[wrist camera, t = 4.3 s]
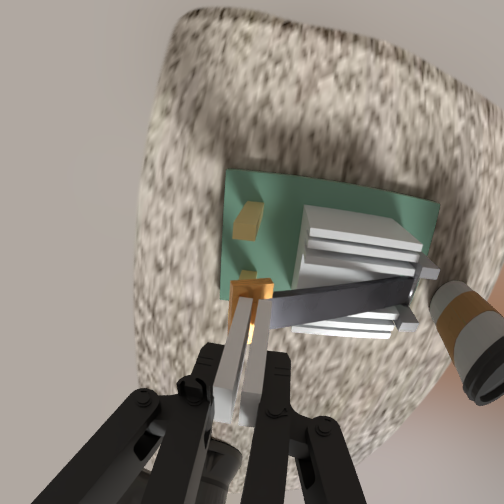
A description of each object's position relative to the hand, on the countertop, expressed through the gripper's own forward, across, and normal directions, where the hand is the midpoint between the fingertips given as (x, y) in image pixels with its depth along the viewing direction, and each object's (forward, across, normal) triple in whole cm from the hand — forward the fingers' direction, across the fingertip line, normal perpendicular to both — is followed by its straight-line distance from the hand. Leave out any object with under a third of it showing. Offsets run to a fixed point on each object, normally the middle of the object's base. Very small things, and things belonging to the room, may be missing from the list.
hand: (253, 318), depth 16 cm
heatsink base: (+14, +6, 0) cm, 15 cm away
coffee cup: (+14, +24, -5) cm, 28 cm away
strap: (+4, +6, 0) cm, 7 cm away
